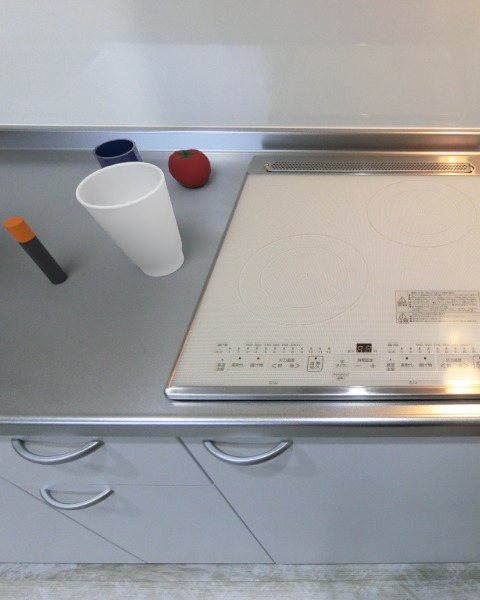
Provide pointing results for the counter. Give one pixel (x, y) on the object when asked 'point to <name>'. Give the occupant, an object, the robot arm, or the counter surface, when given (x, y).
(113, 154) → the pen pot
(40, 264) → the marker
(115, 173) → the cup
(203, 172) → the tomato
